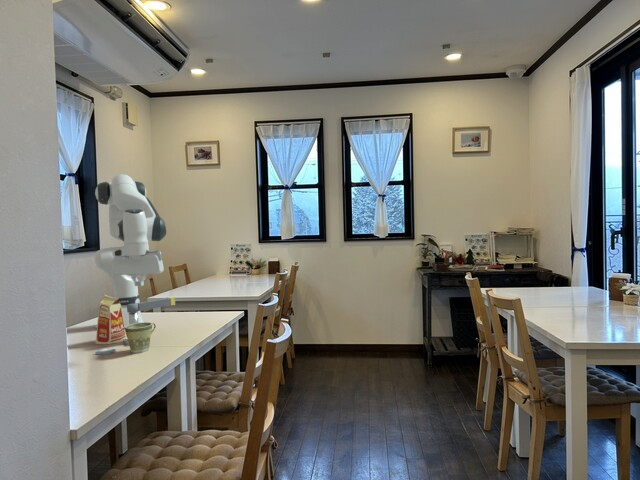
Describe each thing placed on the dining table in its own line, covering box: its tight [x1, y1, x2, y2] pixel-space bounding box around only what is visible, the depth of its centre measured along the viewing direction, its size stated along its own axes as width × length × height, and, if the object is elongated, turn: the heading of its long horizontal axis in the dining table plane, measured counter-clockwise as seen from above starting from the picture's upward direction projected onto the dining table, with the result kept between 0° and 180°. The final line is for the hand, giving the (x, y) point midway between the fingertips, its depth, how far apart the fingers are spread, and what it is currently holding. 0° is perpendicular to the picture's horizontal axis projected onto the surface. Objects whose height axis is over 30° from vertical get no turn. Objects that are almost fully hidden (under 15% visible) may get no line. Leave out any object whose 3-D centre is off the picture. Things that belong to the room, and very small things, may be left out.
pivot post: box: [122, 312, 139, 347], centre depth 190 cm, size 8×8×12 cm
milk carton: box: [95, 294, 127, 345], centre depth 194 cm, size 9×9×20 cm
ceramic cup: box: [125, 321, 156, 354], centre depth 178 cm, size 13×10×10 cm
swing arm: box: [127, 296, 176, 313], centre depth 196 cm, size 20×4×3 cm, turn 135°
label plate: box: [95, 348, 117, 355], centre depth 177 cm, size 6×4×1 cm, turn 80°
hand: (139, 285), depth 178 cm, fingers closed
